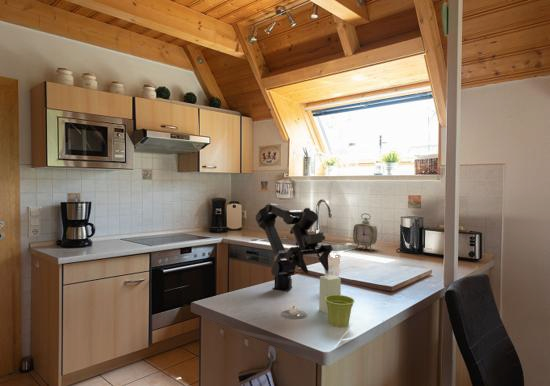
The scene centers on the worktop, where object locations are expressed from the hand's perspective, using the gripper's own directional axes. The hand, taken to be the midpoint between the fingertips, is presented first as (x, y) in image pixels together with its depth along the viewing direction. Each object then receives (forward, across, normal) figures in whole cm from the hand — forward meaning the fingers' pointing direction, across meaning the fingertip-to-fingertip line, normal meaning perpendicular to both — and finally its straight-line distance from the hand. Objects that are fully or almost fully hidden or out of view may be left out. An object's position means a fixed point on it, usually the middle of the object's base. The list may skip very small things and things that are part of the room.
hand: (317, 271), depth 140 cm
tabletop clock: (-47, +101, +70) cm, 131 cm away
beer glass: (0, +18, +19) cm, 26 cm away
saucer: (+13, -14, +5) cm, 19 cm away
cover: (+15, 0, +3) cm, 15 cm away
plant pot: (+22, -5, -5) cm, 23 cm away
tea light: (+12, -14, +4) cm, 19 cm away
